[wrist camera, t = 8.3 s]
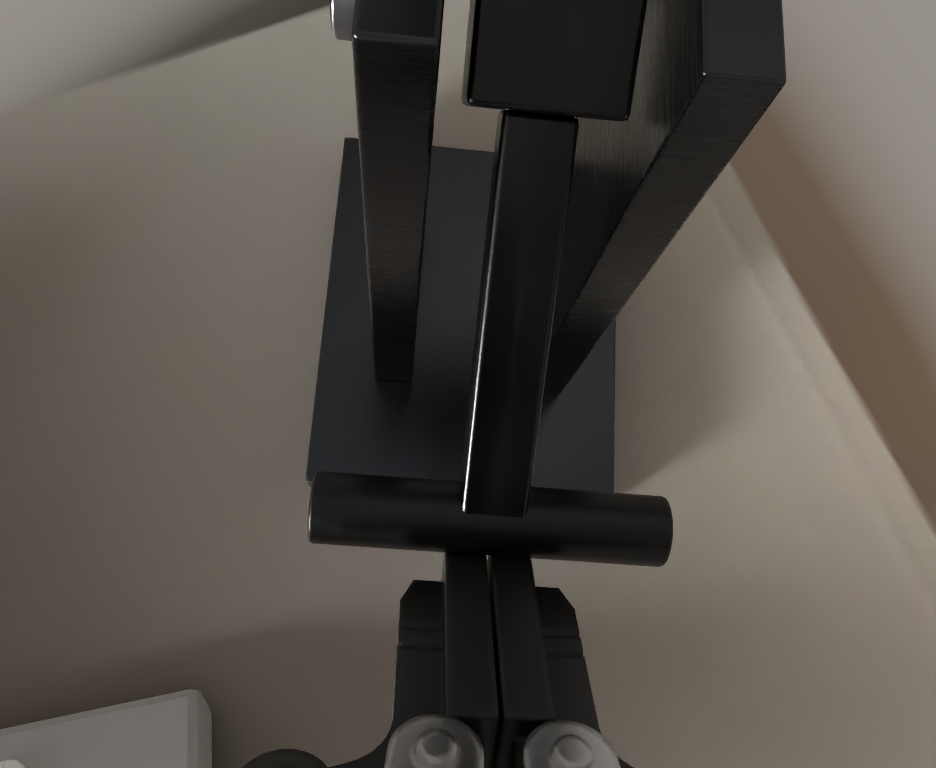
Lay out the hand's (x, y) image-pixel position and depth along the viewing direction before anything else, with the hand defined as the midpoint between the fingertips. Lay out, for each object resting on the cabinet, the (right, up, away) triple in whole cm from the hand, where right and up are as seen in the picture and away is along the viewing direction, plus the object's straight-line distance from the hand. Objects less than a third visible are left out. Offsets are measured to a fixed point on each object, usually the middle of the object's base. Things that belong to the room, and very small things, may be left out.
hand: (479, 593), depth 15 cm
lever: (+1, +6, -1) cm, 6 cm away
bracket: (0, +5, +9) cm, 11 cm away
